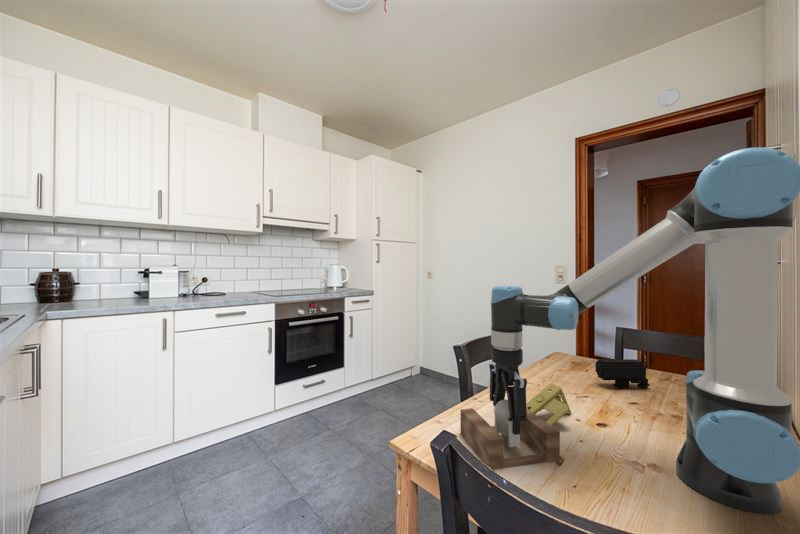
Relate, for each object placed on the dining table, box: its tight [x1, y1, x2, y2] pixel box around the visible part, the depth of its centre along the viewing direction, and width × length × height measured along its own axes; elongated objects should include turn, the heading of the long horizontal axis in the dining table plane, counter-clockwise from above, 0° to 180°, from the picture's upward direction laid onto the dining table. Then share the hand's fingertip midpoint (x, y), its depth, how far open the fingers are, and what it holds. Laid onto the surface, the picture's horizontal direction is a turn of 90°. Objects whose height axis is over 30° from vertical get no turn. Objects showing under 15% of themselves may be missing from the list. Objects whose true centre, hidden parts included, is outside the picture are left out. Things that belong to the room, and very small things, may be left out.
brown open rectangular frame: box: [460, 407, 561, 471], centre depth 80 cm, size 16×18×7 cm
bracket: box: [526, 383, 572, 427], centre depth 94 cm, size 10×14×10 cm
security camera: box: [595, 358, 650, 389], centre depth 123 cm, size 7×18×10 cm, turn 89°
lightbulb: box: [493, 399, 510, 445], centre depth 80 cm, size 6×6×11 cm
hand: (506, 438), depth 80 cm, fingers closed on lightbulb, 6 cm apart
